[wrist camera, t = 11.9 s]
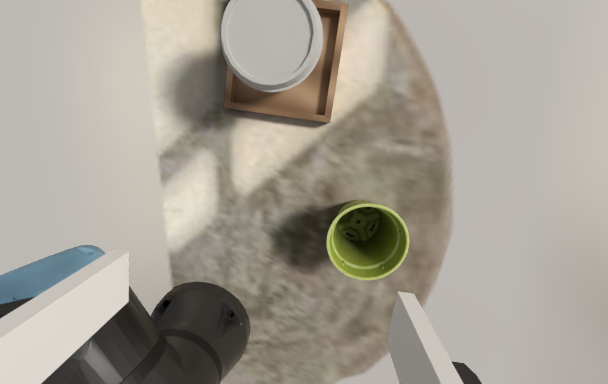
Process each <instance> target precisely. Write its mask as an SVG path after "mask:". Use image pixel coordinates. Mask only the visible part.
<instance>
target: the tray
mask: <svg viewBox="0 0 608 384" xmlns="http://www.w3.org/2000/svg"><path fill="white" fill-rule="evenodd" d="M312 2H313V3H314V4H315V6H316V8H317V11H318V13H319V15H320V18H321V22H322V27H323V46H322V51H321V54H320V57H319V60H318V62H317V64H316V66H315V68H314V69H313V71H312V72H311V73H310V74H309V76H308V77H307V78H306V79H305V80H304V81H302V82H301V83H300V84H298V85H297V86H295V87H293V88H290V89H288V90H284V91H280V92H264V91H261V90H257V89H254V88H252V87H250V86H248V85H246V84H245V83H243V82H242V81H241V80H240V79H239V78H238V77H236V76H235V74H234V73H233V72H232V70H231V69H230V68H229V66H228V64H227V72H226V85H225V97H224V108H230V109H237V110H244V111H251V112H257V113H264V114H271V115H278V116H285V117H292V118H298V119H305V120H312V121H319V122H326V123H330V119H331V113H332V106H333V100H334V94H335V87H336V81H337V75H338V68H339V62H340V55H341V49H342V43H343V36H344V30H345V24H346V17H347V11H348V5H349V4H344V3H337V2H330V1H323V0H312Z"/></svg>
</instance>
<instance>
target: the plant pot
mask: <svg viewBox="0 0 608 384" xmlns="http://www.w3.org/2000/svg"><path fill="white" fill-rule="evenodd" d="M365 207H370V209H367V208H365ZM343 215H344V216H343ZM342 216H343V218H342V219H341V217H342ZM357 220H360V223H357ZM374 223H375V227H374V230H373V231H372V232H370V230H371V228H372V226H373V224H374ZM347 232H348V233H350V234H352V235H354V236H355V237H351V236H348V235H347ZM326 245H327V251H328V255H329V257H330V259H331V261H332V263H333V264H334V266H335V267H336V268H337V269H338V270H339V271H341V272H342V273H343V274H345V275H347V276H349V277H351V278H354V279H358V280H375V279H379V278H382V277H385V276H387V275H388V274H390V273H392V272H393V271H394V270H396V269H397V268H398V267H399V266H400V265H401V263H402V262H403V260H404V258H405V257H406V254H407V251H408V247H409V234H408V230H407V227H406V225H405V223H404V221H403V220H402V219H401V217H400V216H399V215H398V214H397V213H395V212H394V211H393V210H391V209H389V208H387V207H385V206H382V205H378V204H372V203H369V202H367V201H363V200H355V201H351V202H349V203H347V204H345V205H344V206H343V207H342V208H341V209H340V211H339V213H338V215H337V217H336V218H335V219H334V220H333V222H332V224H331V225H330V227H329V230H328V234H327V240H326Z"/></svg>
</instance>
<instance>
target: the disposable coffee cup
mask: <svg viewBox="0 0 608 384" xmlns="http://www.w3.org/2000/svg"><path fill="white" fill-rule="evenodd" d="M220 40H221V48H222V52H223V55H224V58H225V60H226V62H227V64H228V66H229V68H230V69H231V70H232V72H233V73H234V74H235V76H236V77H238V78H239V79H240V80H241V81H242V82H243V83H245V84H246V85H248V86H250V87H252V88H254V89H257V90H261V91H264V92H280V91H284V90H288V89H290V88H293V87H295V86H297V85H298V84H300V83H301V82H302V81H304V80H305V79H306V78H307V77H308V76H309V74H310V73H311V72H312V71H313V69H314V68H315V66H316V64H317V62H318V60H319V57H320V54H321V51H322V46H323V27H322V22H321V18H320V15H319V13H318V11H317V8H316V6H315V4H314V3H313V2H312V0H230V2H229V3H228V5H227V7H226V9H225V12H224V15H223V18H222V22H221V29H220Z"/></svg>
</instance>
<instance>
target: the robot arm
mask: <svg viewBox="0 0 608 384" xmlns="http://www.w3.org/2000/svg"><path fill="white" fill-rule="evenodd" d="M249 335H250V323H249V318H248V315H247V313H246V310H245V309H244V307H243V305H242V304H241V303H240V301H239V300H238V299H237V298H236V297H235V296H234V295H232V294H231V293H230V292H228V291H227V290H225V289H223V288H221V287H219V286H216V285H213V284H210V283H204V282H192V283H186V284H183V285H180V286H178V287H176V288H174V289H172V290H171V291H170V292H168V293H167V294H166V295H165V296H164V298H163V299H162V300H161V301H160V302H159V303H158V304H157V306H156V307H155V309H154V311H153V313H152V315H151V317H150V316H149V314H148V312H147V311H146V310H145V308H144V307H143V305H142V304H141V302H140V301H139V300H138V298H137V296H136V295H135V294H134V292H133V291H132V289H131V288H130V286H129V251H123V250H116V249H113V250H111V251H110V252H108V253H106V254H105V253H104V251H102V250H101V249H100V248H98V247H96V246H92V245H84V246H78V247H74V248H72V249H68V250H66V251H63V252H60V253H57V254H54V255H52V256H49V257H46V258H44V259H41V260H38V261H36V262H33V263H31V264H28V265H25V266H23V267H20V268H18V269H15V270H13V271H10V272H8V273H5V274H3V275H0V384H220V382H221V380H222V379H223V378H224V377H225V376H226V375H227V374H228V372H229V371H230V370H231V369H232V368H233V367H234V366H235V364H236V363H237V362H238V361H239V360H240V358H241V357H242V355H243V353H244V351H245V348H246V345H247V342H248V339H249ZM387 344H388V347H389V350H390V354H391V357H392V360H393V363H394V366H395V369H396V373H397V376H398V379H399V383H400V384H481V382H480V380H479V379H478V377H477V376H476V374H475V373H473V372H472V371H471V370H470V369H469V368H468V367H467V366H466V365H465V364H464V363H457V362H451V360H450V358H449V357H448V355H447V353H446V351H445V349H444V348H443V346H442V344H441V342H440V340H439V338H438V337H437V335H436V333H435V331H434V329H433V328H432V326H431V324H430V322H429V320H428V319H427V317H426V315H425V313H424V311H423V310H422V308H421V306H420V304H419V302H418V301H417V299H416V297H415V295H414V294H412V293H405V292H398V293H397V297H396V302H395V306H394V310H393V315H392V319H391V323H390V328H389V332H388V336H387Z"/></svg>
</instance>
